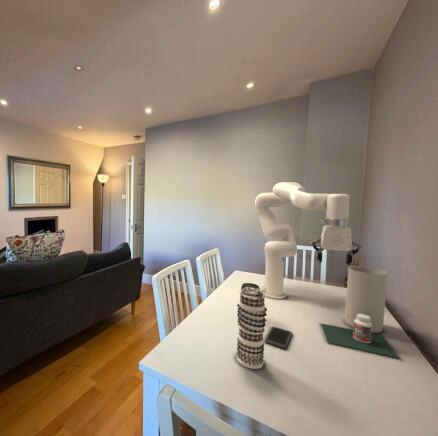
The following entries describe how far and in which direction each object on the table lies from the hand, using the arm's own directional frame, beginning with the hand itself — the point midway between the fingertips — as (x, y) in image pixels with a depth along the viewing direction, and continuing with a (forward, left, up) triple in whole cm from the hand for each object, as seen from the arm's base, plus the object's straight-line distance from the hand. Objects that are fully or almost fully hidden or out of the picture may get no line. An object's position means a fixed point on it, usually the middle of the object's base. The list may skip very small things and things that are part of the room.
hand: (333, 262), depth 105 cm
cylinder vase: (+13, +7, -28) cm, 32 cm away
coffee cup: (-32, -7, -28) cm, 43 cm away
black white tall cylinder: (-29, -41, -28) cm, 58 cm away
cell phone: (-20, -21, -28) cm, 40 cm away
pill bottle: (+9, -8, -28) cm, 30 cm away
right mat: (+7, -8, -28) cm, 30 cm away
